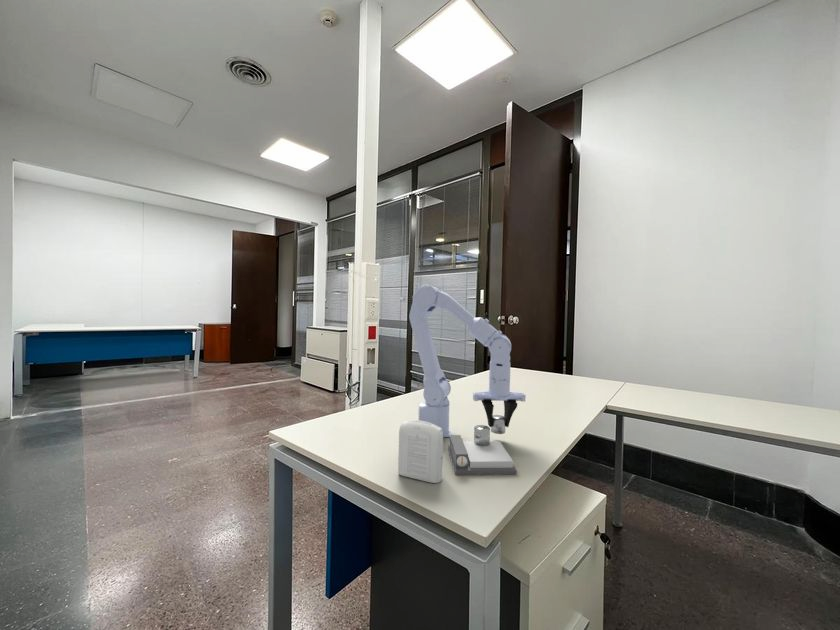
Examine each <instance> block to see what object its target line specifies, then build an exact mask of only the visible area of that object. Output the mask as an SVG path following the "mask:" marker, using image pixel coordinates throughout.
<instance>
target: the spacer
mask: <svg viewBox="0 0 840 630" xmlns="http://www.w3.org/2000/svg"><path fill="white" fill-rule="evenodd" d="M492 418H493V425H492V427H490V433H491V432H492V433H493V434H495V435H496V434H497V435H504V434H505V433H506V418H505V417H504V415H500V414H493V416H492Z"/></svg>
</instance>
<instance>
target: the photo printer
mask: <svg viewBox="0 0 840 630" xmlns="http://www.w3.org/2000/svg"><path fill="white" fill-rule="evenodd" d="M443 454H444V437H443V430H442V428H440V427H438V426H436V425H434V424H432V423H429V422H425V421H418V419H417V420H406V421H403V422H402V423H401V424H400V426H399V431H398V456H397V457H398V458H397V460H398V462H397V463H398V465H397V466H398V467H397V468H398V469H397V473H398V475H400V476H403V477H407V478H411V479H415V480H419V481H421V482H422V481H423V482H427V483H432V484H438V483H440V482H442V480H443V462H444V461H443V457H444V455H443Z"/></svg>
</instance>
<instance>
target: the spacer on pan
mask: <svg viewBox="0 0 840 630" xmlns="http://www.w3.org/2000/svg"><path fill="white" fill-rule="evenodd" d="M473 431H474V432H473V433H474V434H473V441H474V443H475V444H476V445H478V446H488V445H489V444H490V441H491V440H490V439H491V427H490V426H489V425H483V424H477V425H475V426H474V428H473Z"/></svg>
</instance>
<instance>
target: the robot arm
mask: <svg viewBox="0 0 840 630" xmlns="http://www.w3.org/2000/svg"><path fill="white" fill-rule="evenodd" d="M436 308H439V309H444V310H447V311H448V312H449V313H451V314H452V315H453V316H454V317H456V318H457V319H458V320H459V321H461V322H462V323H463V324H465V325H466V326H467V330H468V333H469V334H470V335H471V336H472V337H473V338H475V339H476V340H477V341H478V342H479V343H480V344H482V345H483V346H484V347H486V348H488V352H489V353H490V361H489V377H488V383H489V384H488V391H481V392H480V391H479V392H477V391H476V392H472V401H474V402H478V401H481V403H482V405H483V409H484V411H485V413H486V418H487V424H488V425H487V426H488V427H489V428H491V427H492V425H493V418H492V416H493V415H494V408H495V405H494V404H493V401H496V402H497V401H500V402H501V401H503V406H504V408H503V409H504V411H503V412H504V414H503V416H504V417H505V418H506V426H505V428H509V426H510V422H511V419H512V416H513V414H514V412H515V411H516V409H518V401H519V402H523V403H525V402H526V394H525V393H523V392H513V391H511V354H510V353H511V351H512V343H511V340H510V338H508V336H507V335H505V334H503V332H502V331H501V330H500V329H499V330H497V329H496V328H495V327H494V326H493V325H492V324H490V320H489V319H488V318H485V319H484V318H483V317H475V316H474V315H473V314H471V313H470V312H469V311H468V310H467V309H466V308H465V307H464V306H462V304H460V303H459V302H458V301H457V300H456V299H455V298H454V297H452V296H451V295H450V294H448V293H446V292H445V291H443V290H441V288H439V287H437V286H433V285H432V286H431V285H428V284H424V285H421V286H419V287H418V288H417V289H416V290H415V293H413V295H412V304H411V307H410V310H409V314H408V316H409V322H410V326H411V329H412V333H413V336H414V341H415V344H416V348H417V351H418V352H417V353H418V355H419V359H420V363H421V367H422V371H423V383H422V384H423V399H424V402H419V403H418V419H417V421H425V422H429V423H432V424H434V425H436V426H438V427H440V428H442V430H443V438H450V435H453V434H452V432H451V429H450V400H449V398H448V396H449V394H451V390H452V387H451V383H450V382H449V381H448V379H447V378H446V376H445V373H444V371H443V370H442V369H441V366H440V362H439V357H438V354H437V351H436V347H435V343H434V339H433V335H432V333H431V328H430V325H429V322H428V318H429V317H430V315H431V314H432V312H433V310H434V311H435V309H436Z"/></svg>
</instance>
